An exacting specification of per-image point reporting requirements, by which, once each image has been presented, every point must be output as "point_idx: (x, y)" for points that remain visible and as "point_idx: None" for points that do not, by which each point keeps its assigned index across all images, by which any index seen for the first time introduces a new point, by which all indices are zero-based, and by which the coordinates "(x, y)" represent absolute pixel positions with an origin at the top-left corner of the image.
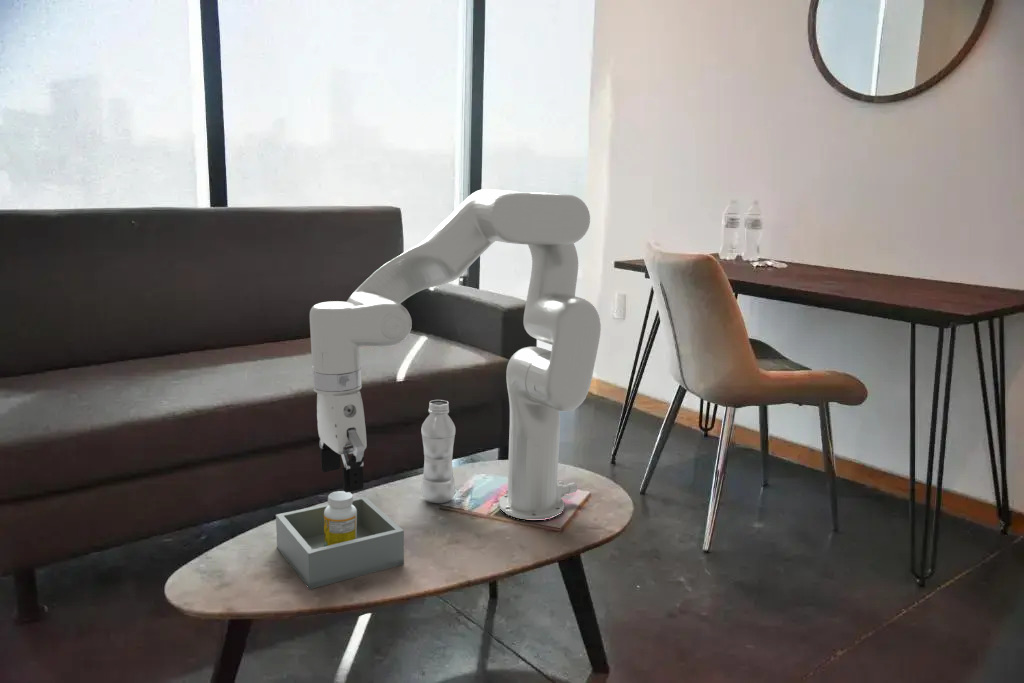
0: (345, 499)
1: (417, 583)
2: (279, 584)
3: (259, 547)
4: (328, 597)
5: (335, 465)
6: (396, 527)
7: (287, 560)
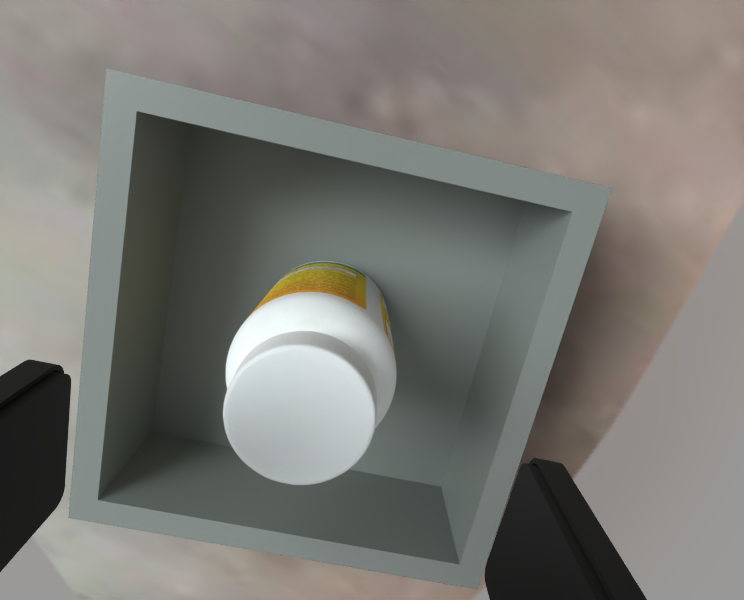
0: (369, 426)
1: (680, 232)
2: None
3: None
4: None
5: (44, 426)
6: (557, 193)
7: None
